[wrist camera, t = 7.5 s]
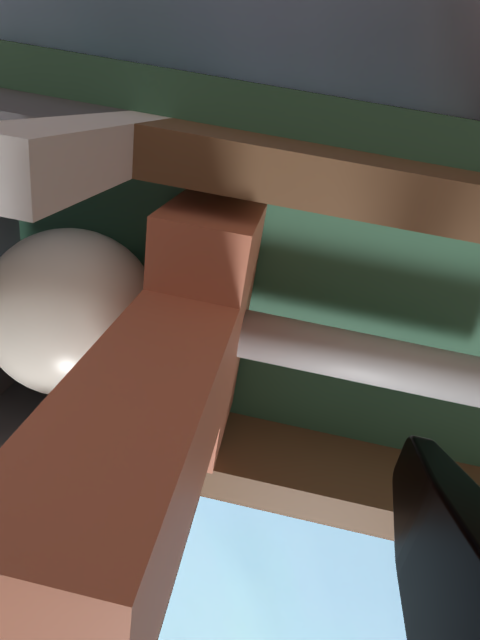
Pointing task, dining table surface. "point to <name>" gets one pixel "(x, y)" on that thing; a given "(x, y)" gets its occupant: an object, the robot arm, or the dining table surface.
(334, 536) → the dining table surface
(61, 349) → the ball
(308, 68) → the dining table surface
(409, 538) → the robot arm
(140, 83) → the pitch
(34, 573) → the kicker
